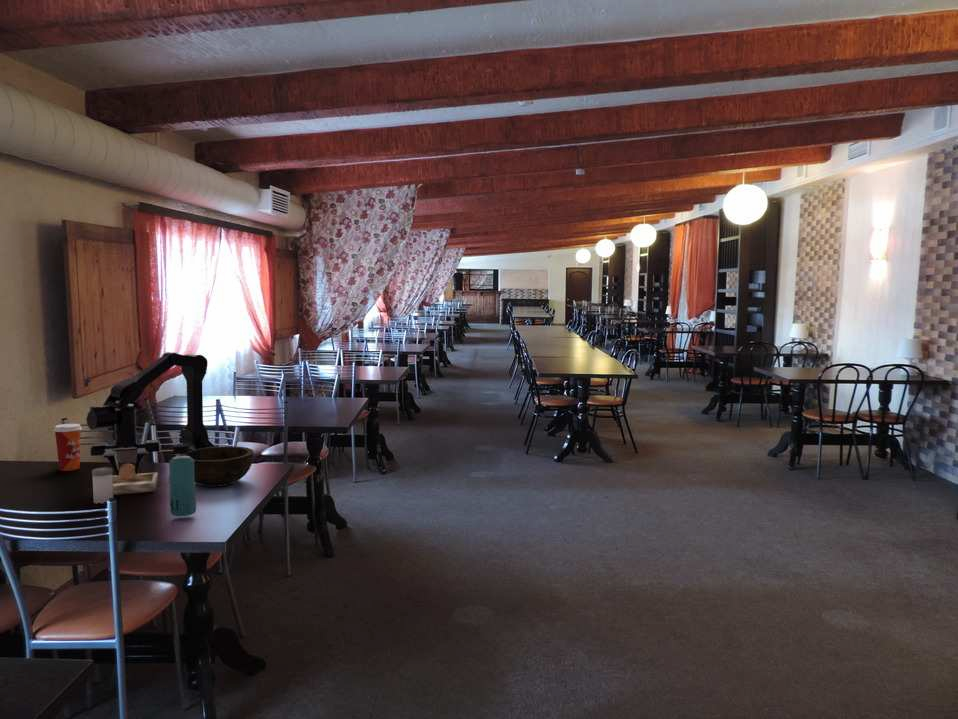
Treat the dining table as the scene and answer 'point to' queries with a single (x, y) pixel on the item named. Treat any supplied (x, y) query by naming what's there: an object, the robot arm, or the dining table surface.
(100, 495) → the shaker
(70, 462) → the coffee cup
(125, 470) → the ball
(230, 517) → the dining table surface
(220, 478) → the bowl
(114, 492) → the tray
